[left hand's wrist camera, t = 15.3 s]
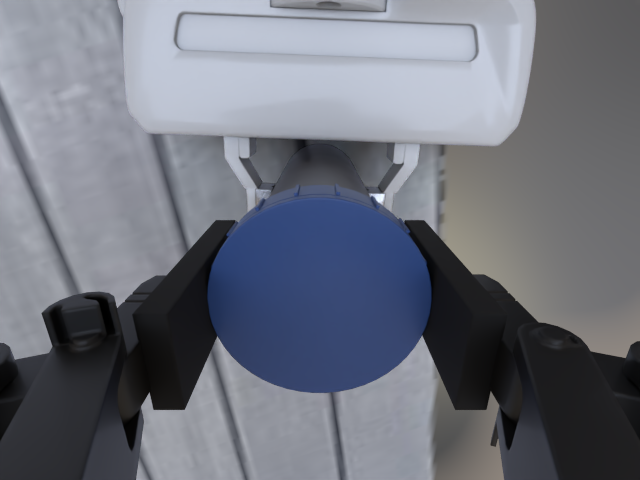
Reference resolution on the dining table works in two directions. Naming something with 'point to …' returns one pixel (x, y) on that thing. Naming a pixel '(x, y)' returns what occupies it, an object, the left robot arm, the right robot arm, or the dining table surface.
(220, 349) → the dining table surface
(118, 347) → the left robot arm
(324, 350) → the lid
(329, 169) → the jar
